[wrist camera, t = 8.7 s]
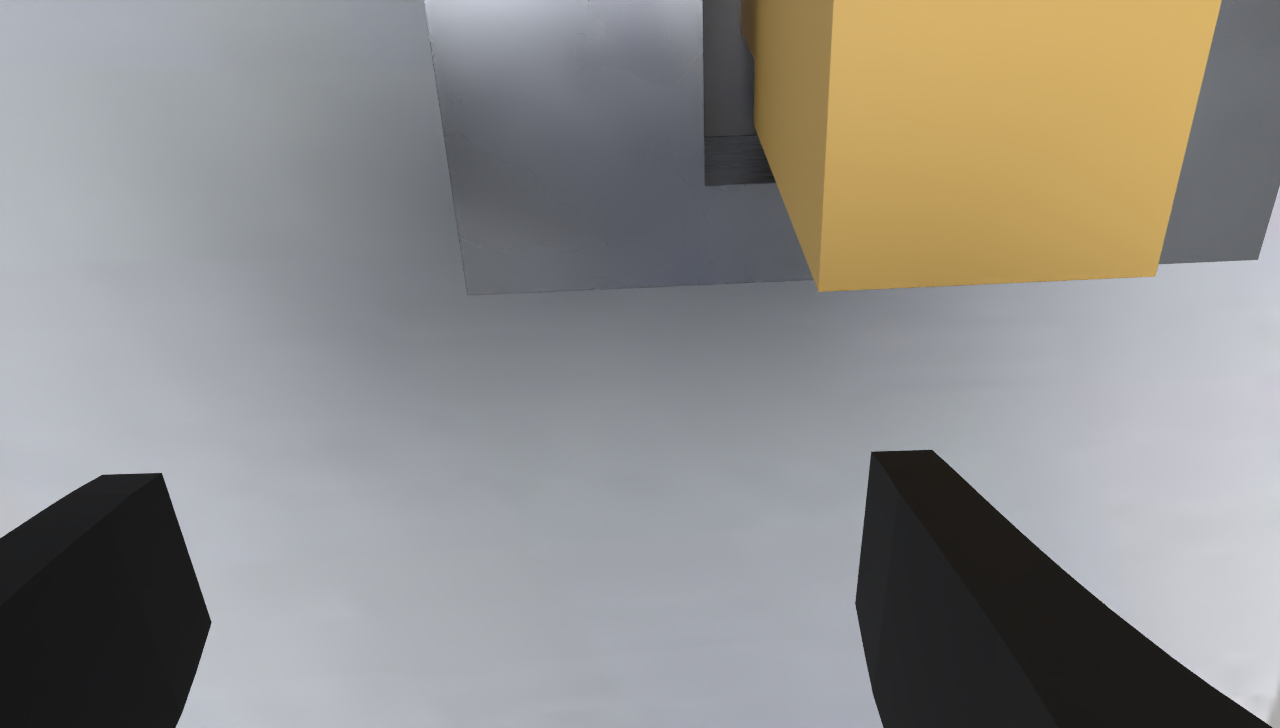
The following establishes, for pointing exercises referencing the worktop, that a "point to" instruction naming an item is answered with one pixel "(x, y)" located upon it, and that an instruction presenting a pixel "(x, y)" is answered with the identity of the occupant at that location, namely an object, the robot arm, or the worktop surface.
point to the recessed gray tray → (728, 149)
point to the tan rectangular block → (977, 134)
